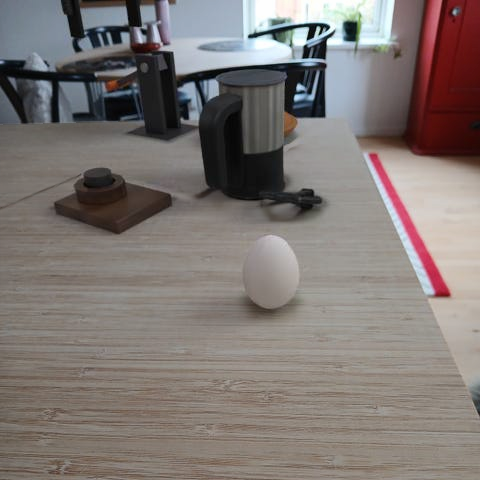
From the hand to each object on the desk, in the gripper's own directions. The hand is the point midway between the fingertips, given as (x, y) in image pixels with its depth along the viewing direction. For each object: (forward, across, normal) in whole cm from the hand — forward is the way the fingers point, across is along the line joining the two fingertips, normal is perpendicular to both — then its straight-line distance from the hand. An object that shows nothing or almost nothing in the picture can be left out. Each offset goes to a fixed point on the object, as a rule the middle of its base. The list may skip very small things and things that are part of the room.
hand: (108, 32), depth 90 cm
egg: (+16, -36, -56) cm, 69 cm away
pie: (+16, +4, -27) cm, 32 cm away
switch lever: (+7, 0, -6) cm, 10 cm away
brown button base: (+16, -28, -26) cm, 42 cm away
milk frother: (+16, -14, -42) cm, 47 cm away
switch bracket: (+16, 0, -10) cm, 19 cm away
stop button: (+13, -28, -24) cm, 39 cm away
